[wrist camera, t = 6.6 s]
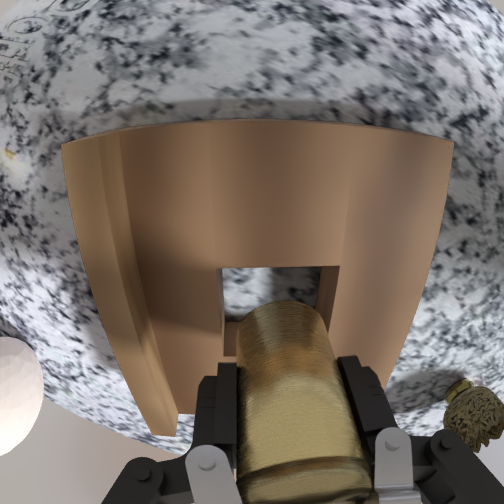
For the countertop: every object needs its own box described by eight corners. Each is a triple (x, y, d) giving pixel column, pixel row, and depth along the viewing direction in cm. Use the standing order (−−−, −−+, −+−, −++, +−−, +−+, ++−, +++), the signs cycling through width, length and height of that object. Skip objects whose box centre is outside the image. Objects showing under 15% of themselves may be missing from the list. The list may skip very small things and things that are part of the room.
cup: (432, 383, 24) (463, 446, 17) (488, 353, 23) (524, 407, 16) (424, 416, 27) (447, 470, 20) (475, 390, 26) (501, 439, 19)
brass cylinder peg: (331, 297, 12) (396, 474, 5) (319, 363, 14) (354, 511, 7) (233, 300, 12) (230, 497, 5) (237, 367, 14) (238, 524, 7)
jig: (421, 133, 14) (481, 150, 9) (367, 372, 22) (385, 422, 17) (112, 129, 13) (60, 144, 9) (163, 381, 21) (152, 434, 17)
